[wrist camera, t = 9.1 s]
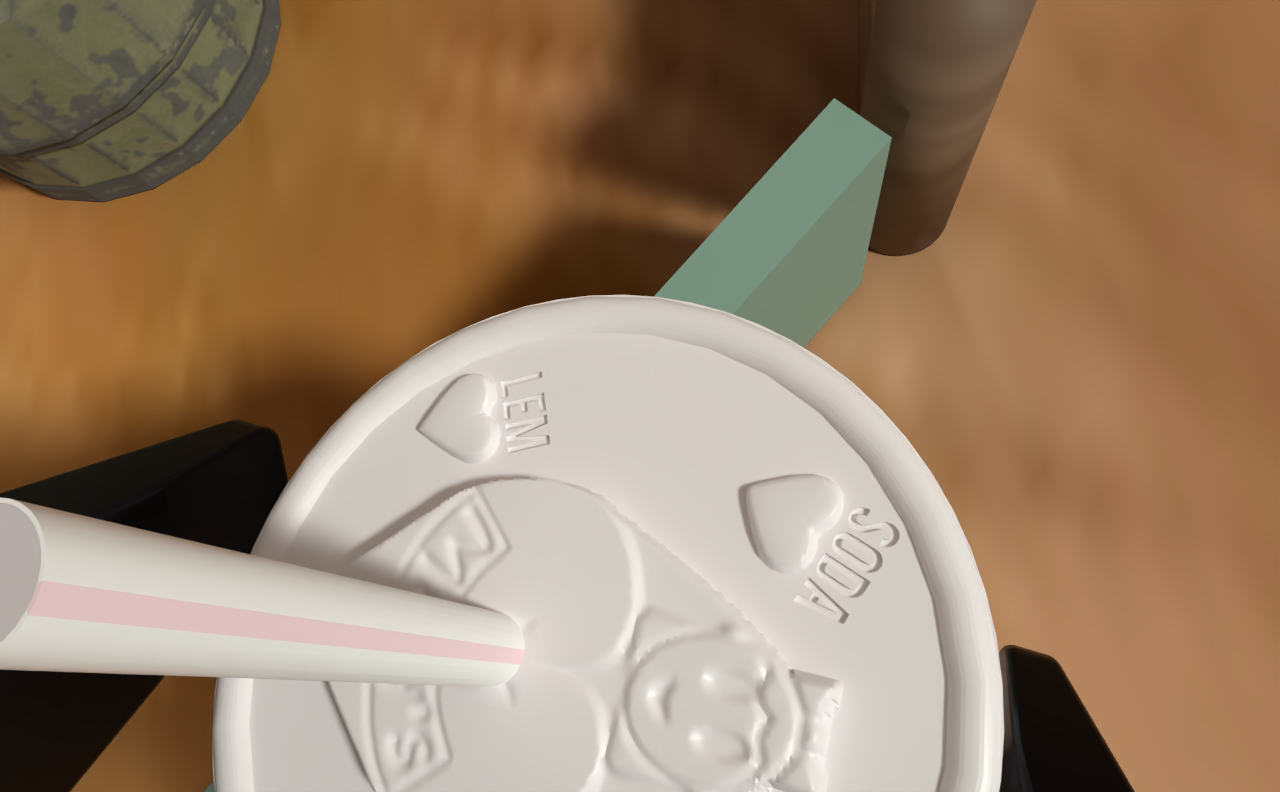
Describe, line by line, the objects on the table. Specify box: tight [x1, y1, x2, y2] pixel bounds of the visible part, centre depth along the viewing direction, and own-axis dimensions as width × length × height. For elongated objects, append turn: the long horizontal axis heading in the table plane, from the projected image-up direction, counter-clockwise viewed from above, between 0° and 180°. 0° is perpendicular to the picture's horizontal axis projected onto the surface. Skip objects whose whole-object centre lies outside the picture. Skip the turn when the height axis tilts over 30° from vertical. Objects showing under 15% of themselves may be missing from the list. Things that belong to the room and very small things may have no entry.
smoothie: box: [0, 295, 1004, 792], centre depth 9 cm, size 6×6×14 cm
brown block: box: [860, 0, 1036, 256], centre depth 14 cm, size 24×2×7 cm, turn 177°
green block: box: [204, 98, 892, 792], centre depth 15 cm, size 13×2×6 cm, turn 137°
